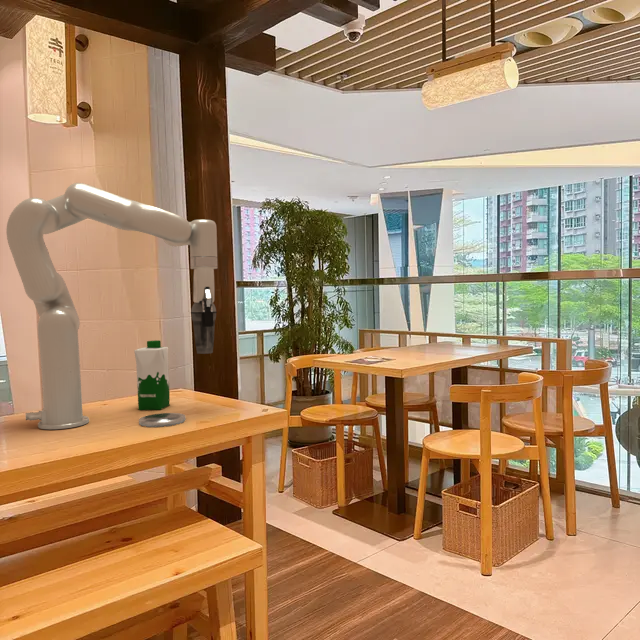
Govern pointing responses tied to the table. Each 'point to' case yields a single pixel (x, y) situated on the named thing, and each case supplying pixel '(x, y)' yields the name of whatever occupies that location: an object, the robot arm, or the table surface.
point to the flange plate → (162, 419)
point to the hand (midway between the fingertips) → (205, 325)
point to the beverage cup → (203, 330)
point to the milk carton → (152, 376)
